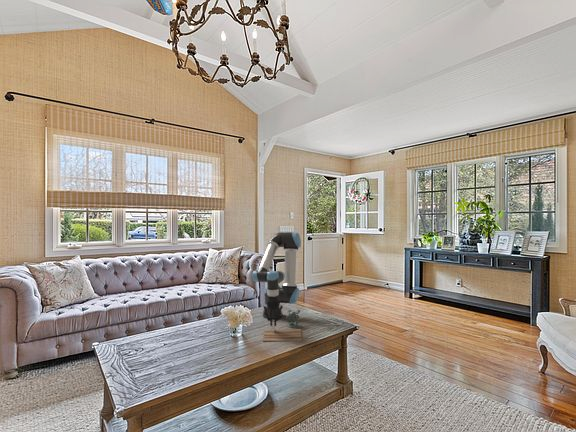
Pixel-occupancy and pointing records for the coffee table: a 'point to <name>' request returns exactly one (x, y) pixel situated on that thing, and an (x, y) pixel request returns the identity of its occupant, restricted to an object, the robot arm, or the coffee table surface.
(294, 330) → the plank
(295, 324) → the figurine
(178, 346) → the coffee table surface
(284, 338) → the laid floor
